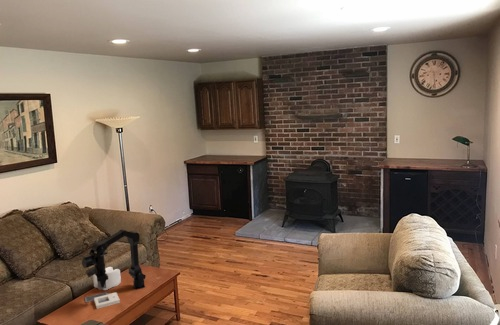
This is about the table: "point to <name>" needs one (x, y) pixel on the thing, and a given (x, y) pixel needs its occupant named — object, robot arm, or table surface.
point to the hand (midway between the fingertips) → (102, 286)
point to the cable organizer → (109, 278)
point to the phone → (91, 298)
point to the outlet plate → (106, 300)
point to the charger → (100, 285)
